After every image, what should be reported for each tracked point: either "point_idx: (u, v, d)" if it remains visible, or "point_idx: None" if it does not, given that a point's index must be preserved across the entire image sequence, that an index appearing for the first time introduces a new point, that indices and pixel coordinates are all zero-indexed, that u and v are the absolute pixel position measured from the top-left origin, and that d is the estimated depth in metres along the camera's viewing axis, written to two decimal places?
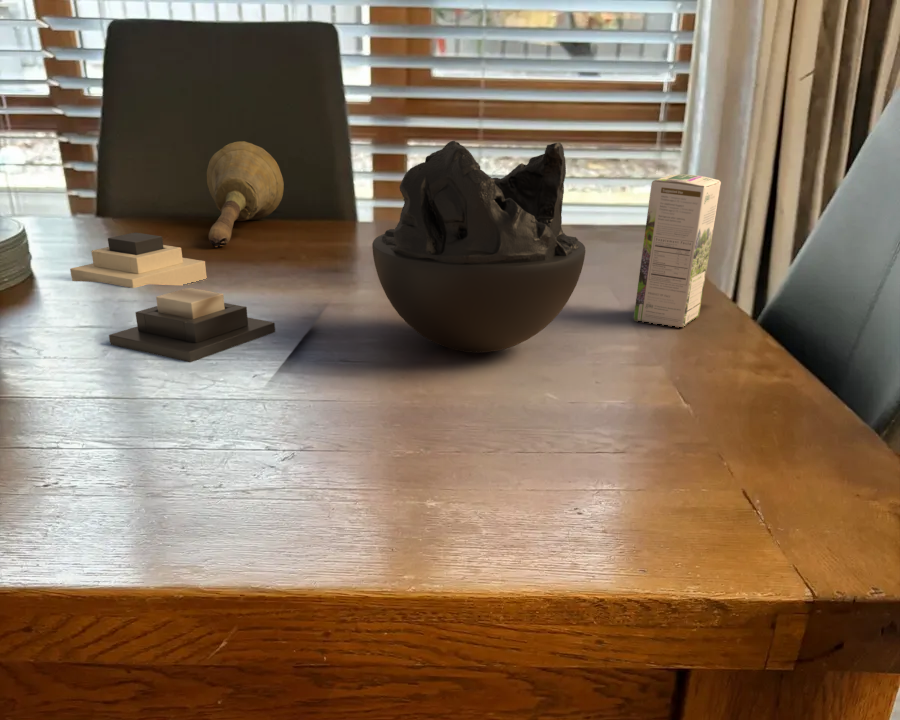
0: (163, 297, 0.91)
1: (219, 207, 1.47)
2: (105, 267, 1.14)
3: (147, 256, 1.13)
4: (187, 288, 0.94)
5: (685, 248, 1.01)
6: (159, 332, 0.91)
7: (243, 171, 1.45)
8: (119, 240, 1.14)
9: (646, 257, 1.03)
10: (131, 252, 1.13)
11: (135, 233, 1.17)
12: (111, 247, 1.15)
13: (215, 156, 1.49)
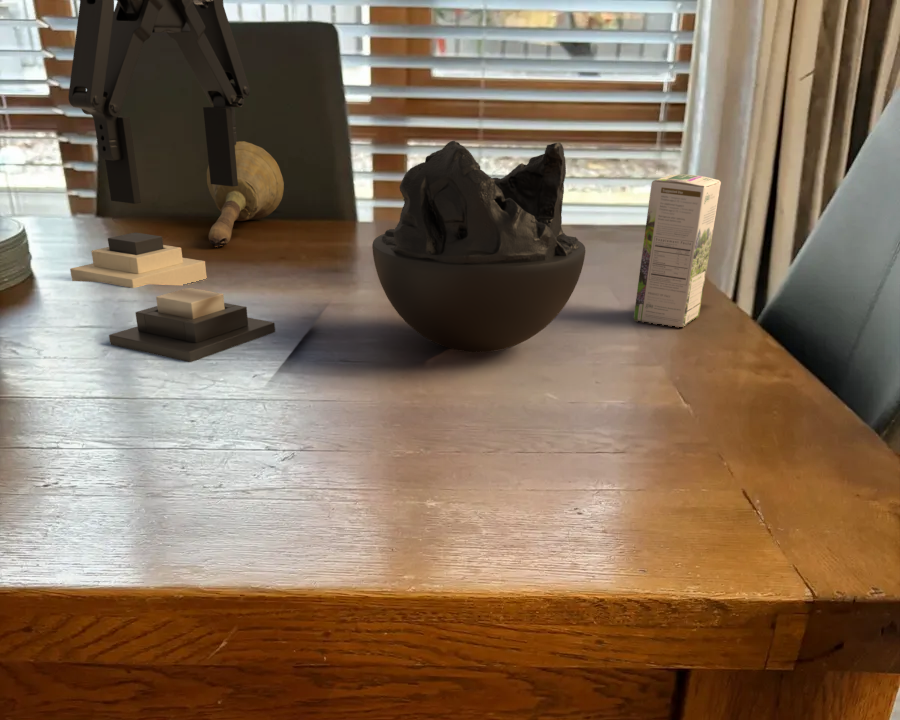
0: (163, 297, 0.91)
1: (219, 207, 1.47)
2: (105, 267, 1.14)
3: (147, 256, 1.13)
4: (187, 288, 0.94)
5: (685, 248, 1.01)
6: (159, 332, 0.91)
7: (243, 171, 1.45)
8: (119, 240, 1.14)
9: (646, 257, 1.03)
10: (131, 252, 1.13)
11: (135, 233, 1.17)
12: (111, 247, 1.15)
13: None
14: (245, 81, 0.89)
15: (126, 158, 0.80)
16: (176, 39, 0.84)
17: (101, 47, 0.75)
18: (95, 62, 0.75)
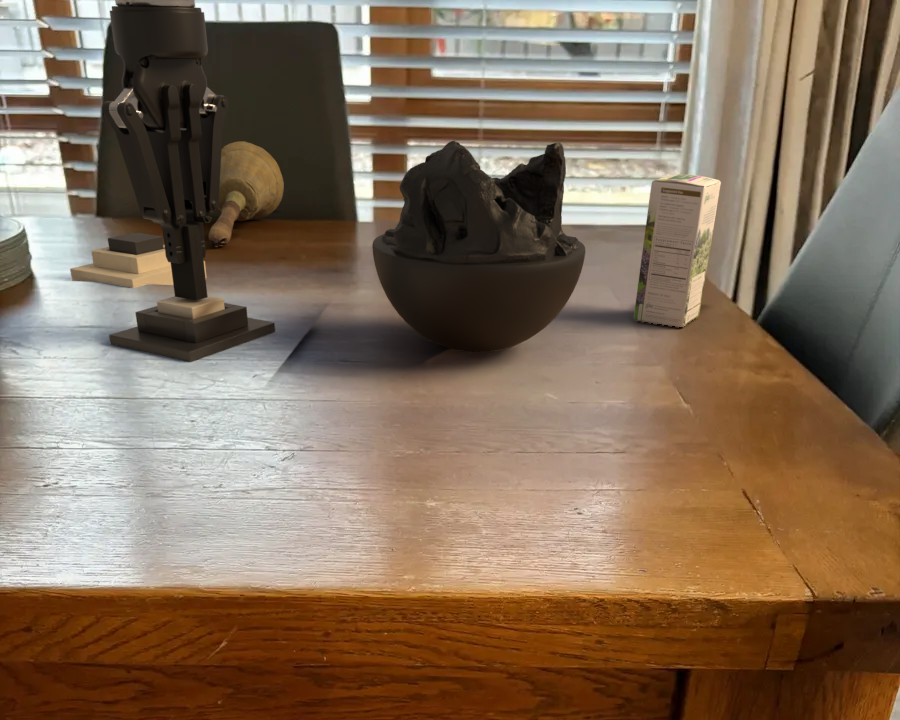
0: (164, 302, 0.91)
1: (219, 207, 1.47)
2: (105, 267, 1.14)
3: (147, 256, 1.13)
4: None
5: (685, 248, 1.01)
6: (159, 332, 0.91)
7: (243, 171, 1.45)
8: (119, 240, 1.14)
9: (646, 257, 1.03)
10: (131, 252, 1.13)
11: (135, 233, 1.17)
12: (111, 247, 1.15)
13: None
14: (217, 197, 0.90)
15: (190, 261, 0.89)
16: None
17: (151, 170, 0.82)
18: (153, 186, 0.83)
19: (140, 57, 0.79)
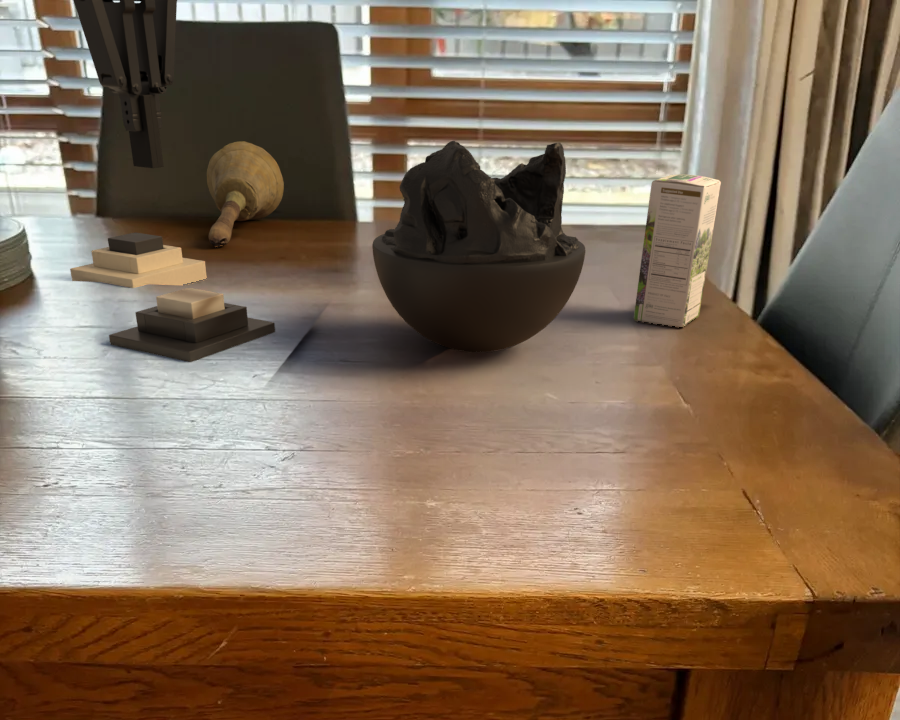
0: (163, 297, 0.91)
1: (219, 207, 1.47)
2: (105, 267, 1.14)
3: (147, 256, 1.13)
4: (187, 288, 0.94)
5: (685, 248, 1.01)
6: (159, 332, 0.91)
7: (243, 171, 1.45)
8: (119, 240, 1.14)
9: (646, 257, 1.03)
10: (131, 252, 1.13)
11: (135, 233, 1.17)
12: (111, 247, 1.15)
13: (216, 156, 1.49)
14: (172, 71, 0.97)
15: (146, 129, 0.96)
16: None
17: (106, 35, 0.89)
18: (108, 52, 0.90)
19: None
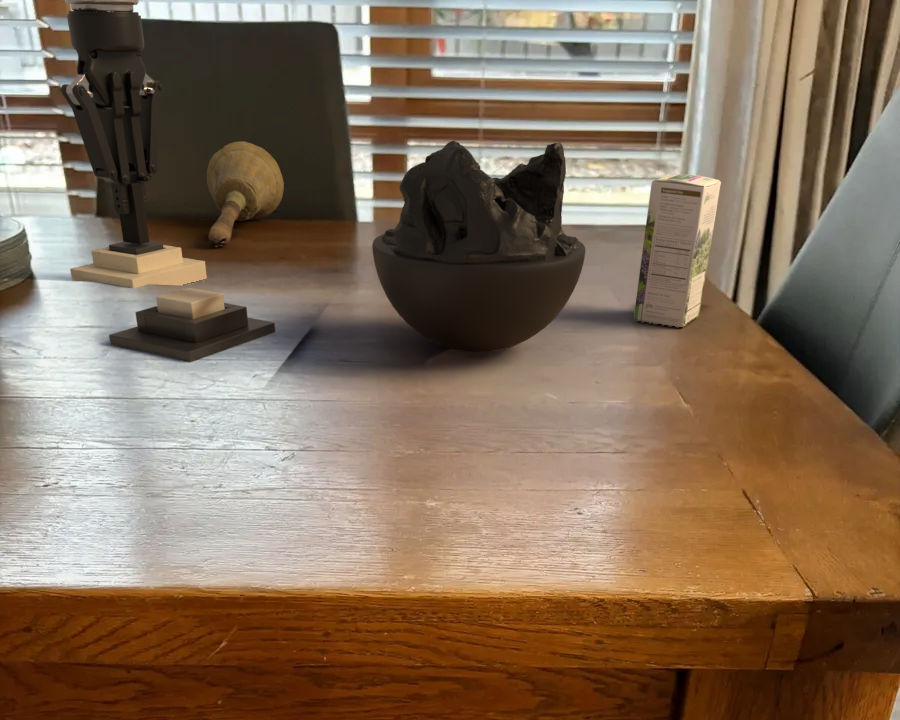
0: (163, 297, 0.91)
1: (219, 207, 1.47)
2: (105, 267, 1.14)
3: (147, 256, 1.13)
4: (187, 288, 0.94)
5: (685, 248, 1.01)
6: (159, 332, 0.91)
7: (243, 171, 1.45)
8: (120, 247, 1.14)
9: (646, 257, 1.03)
10: None
11: None
12: None
13: (216, 156, 1.49)
14: (155, 162, 1.13)
15: (134, 212, 1.12)
16: None
17: (100, 138, 1.06)
18: (102, 151, 1.06)
19: (90, 50, 1.02)
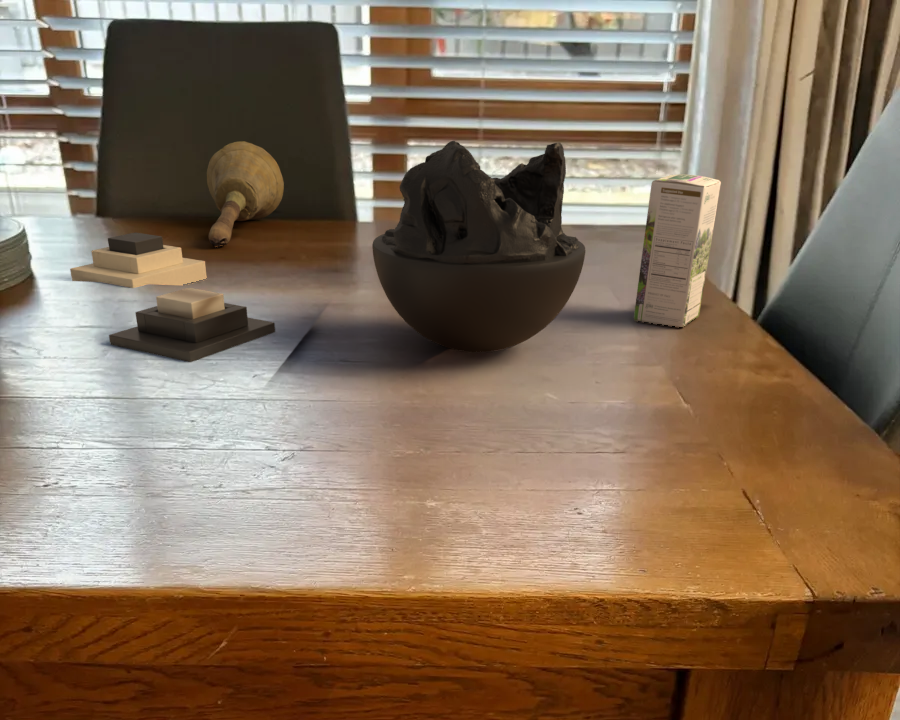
0: (163, 297, 0.91)
1: (219, 207, 1.47)
2: (105, 267, 1.14)
3: (147, 256, 1.13)
4: (187, 288, 0.94)
5: (685, 248, 1.01)
6: (159, 332, 0.91)
7: (243, 171, 1.45)
8: (119, 240, 1.14)
9: (646, 257, 1.03)
10: (131, 252, 1.13)
11: (135, 233, 1.17)
12: (111, 247, 1.15)
13: (216, 156, 1.49)
14: None
15: None
16: None
17: None
18: None
19: None
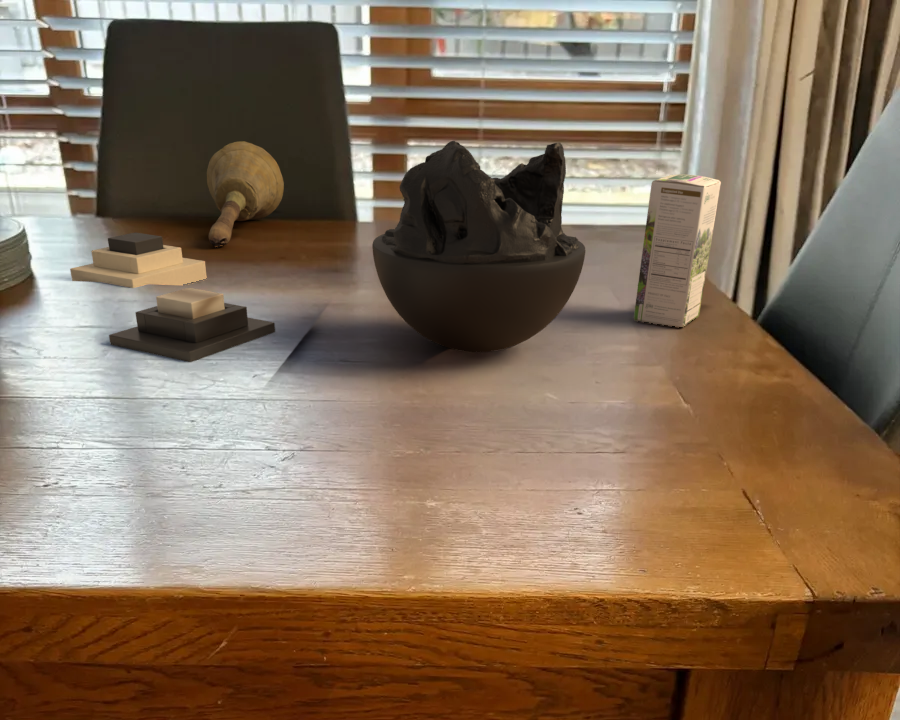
0: (163, 297, 0.91)
1: (219, 207, 1.47)
2: (105, 267, 1.14)
3: (147, 256, 1.13)
4: (187, 288, 0.94)
5: (685, 248, 1.01)
6: (159, 332, 0.91)
7: (243, 171, 1.45)
8: (119, 240, 1.14)
9: (646, 257, 1.03)
10: (131, 252, 1.13)
11: (135, 233, 1.17)
12: (111, 247, 1.15)
13: (216, 156, 1.49)
14: None
15: None
16: None
17: None
18: None
19: None
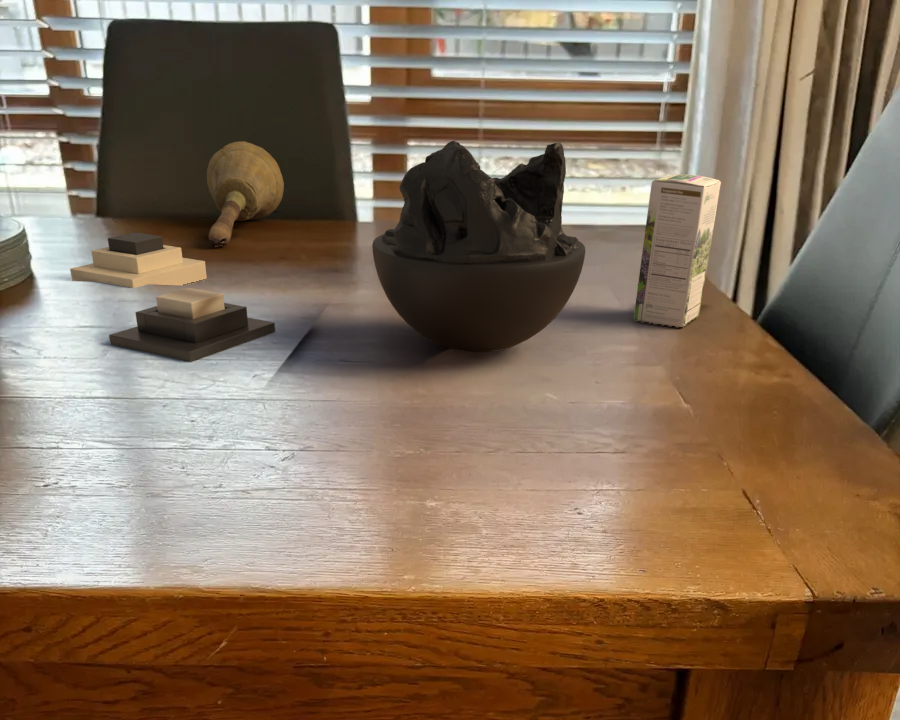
0: (163, 297, 0.91)
1: (219, 207, 1.47)
2: (105, 267, 1.14)
3: (147, 256, 1.13)
4: (187, 288, 0.94)
5: (685, 248, 1.01)
6: (159, 332, 0.91)
7: (243, 171, 1.45)
8: (119, 240, 1.14)
9: (646, 257, 1.03)
10: (131, 252, 1.13)
11: (135, 233, 1.17)
12: (111, 247, 1.15)
13: (216, 156, 1.49)
14: None
15: None
16: None
17: None
18: None
19: None
